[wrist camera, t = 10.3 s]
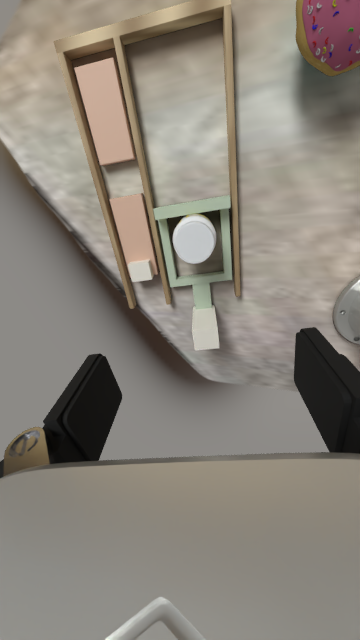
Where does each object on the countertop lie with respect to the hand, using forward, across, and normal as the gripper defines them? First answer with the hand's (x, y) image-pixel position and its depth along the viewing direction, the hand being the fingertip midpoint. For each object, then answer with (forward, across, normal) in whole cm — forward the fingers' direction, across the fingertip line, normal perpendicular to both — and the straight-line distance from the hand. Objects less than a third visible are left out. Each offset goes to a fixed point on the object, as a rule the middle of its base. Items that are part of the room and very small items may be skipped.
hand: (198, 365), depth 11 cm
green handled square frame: (+23, 0, +2) cm, 23 cm away
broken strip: (+23, +8, -10) cm, 26 cm away
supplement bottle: (+23, 0, -3) cm, 23 cm away
